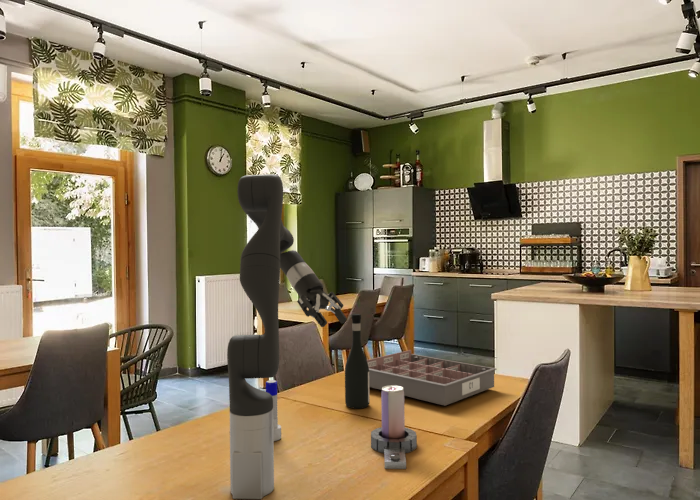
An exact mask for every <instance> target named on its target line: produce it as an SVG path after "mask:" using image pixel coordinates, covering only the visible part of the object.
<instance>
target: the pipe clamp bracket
mask: <svg viewBox="0 0 700 500" xmlns="http://www.w3.org/2000/svg"><path fill="white" fill-rule="evenodd" d="M417 436H418V435H417V432H416V431H415V430H413V429H412V428H409V427H405V438H403V439H386V438H382V426H381V427H377V428H375V429H373V430H372V431H370V447H371V449H372V450H374V451H375V452H378V453H381V454H384V455H383V457H384V469H388V470H390V469H391V470H406V469H407V459H406V454H408V453H411V452H412V453H413V451H415V450H416V449H417V447H418V444H417V443H418V442H417V440H418V438H417Z"/></svg>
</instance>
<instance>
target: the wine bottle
mask: <svg viewBox="0 0 700 500" xmlns="http://www.w3.org/2000/svg"><path fill="white" fill-rule="evenodd" d="M361 320H362V315H361V314H360V313H353V314H351V321H352V322H351V323H352V325H351V326H352V328H351V329H352V344H351V348H350V351H349V354H348V357H347V359H346V362H345V368H344V402H345V405H346V406H347V407H348V408H350V409H365V408H367V407H369V405H370V403H371V402H370V398H371V397H370V387H369V367H368V363H367V360H368V359H367V357H366V355H365V352H364V350H363V347H362V340H361V339H362V333H361V332H362V331H361V327H362V326H361V322H362V321H361Z"/></svg>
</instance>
